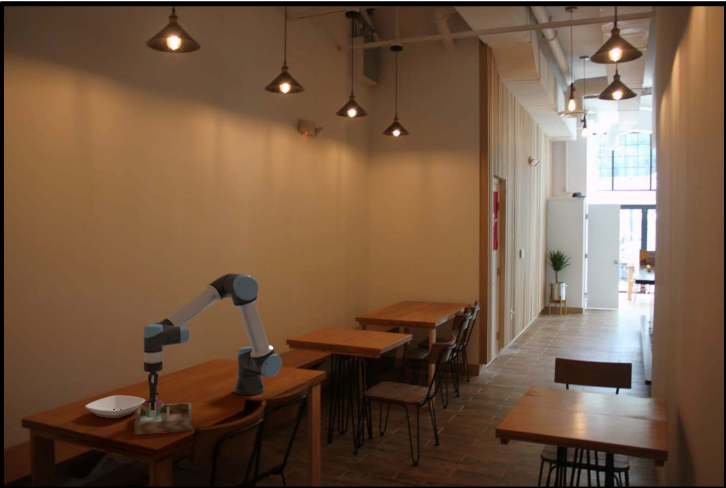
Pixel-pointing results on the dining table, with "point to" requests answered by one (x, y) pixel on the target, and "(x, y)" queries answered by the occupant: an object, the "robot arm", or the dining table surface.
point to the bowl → (115, 406)
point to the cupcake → (158, 406)
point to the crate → (164, 419)
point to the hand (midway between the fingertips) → (153, 414)
